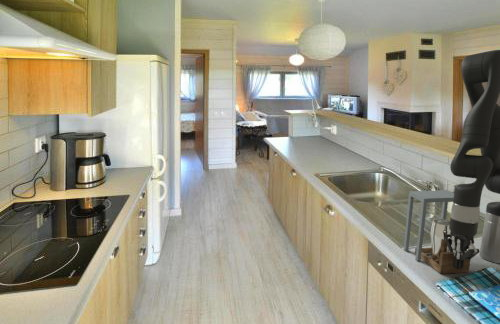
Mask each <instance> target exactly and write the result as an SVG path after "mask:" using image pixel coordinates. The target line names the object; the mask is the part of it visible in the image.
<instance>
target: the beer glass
mask: <svg viewBox="0 0 500 324" xmlns="http://www.w3.org/2000/svg"><path fill="white" fill-rule="evenodd" d="M449 224H450V219H449V220H448V219H446V220H445V219H441V218H434V219H432V224H431V229H430V245H431V247H430V248H431V253H430V255H429V257H430V258H431V259H432V260H440V252H450V251H449V248H448V245H447V242H446V239H445V236H444V235H445V234H450V232H451V231H450V229H449Z"/></svg>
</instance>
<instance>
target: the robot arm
mask: <svg viewBox="0 0 500 324" xmlns="http://www.w3.org/2000/svg"><path fill="white" fill-rule="evenodd" d="M460 70H461V76H462V77H461V78H462V80H463V84H464V86H465V91H466V93H467V96H468V99H469V103H470V107H471V108H470V110H469V112H468V113H467V114H466V117H465V118H464V121H463V127H462V132H461V133H462V134H461V139H460V143H459V146H458V147H457V150H456V152H455V153H454V157H453V158H452V160H451V163H450V171H451V173H452V175H453V176H456V177H460V178H470V179H475V181H473V182H471V183H460V184H457V185H455V187H454V191H453V193H454V199H453V202H452V205H451V210H450V216H449V221H450V224H449V229H450V231H451V232H450V234H445V235H444V236H445V239H446V242H447V245H448V248H449V252H452V253H453V256H454V261H453V267H454V268H456V269H457V270H459V269H462V268H463V265H464V260H470V259H473V258H474V257H475V256H477V255H478V254H479V256H480V257H481V258H482V259H484V260H486V261H487V262H488V261H489V262H492V263H495V264H500V201H491V202H488V203H486V208H485V213H484V223H483V228H482V229H483V230H482V235H481V243H480V249H479V248H476V247H475V238H474V237H475V236H476V235H477V234H478V227H479V219H480V215H481V214H480V211H481V210H480V206H481V199H482V193H483V190H484V186H485V188H486V189H487V190H488V191H489V192H491V193H494V194H499V195H500V105H499V104H497V103H498V101H499V97H500V49H493V50H489V51H484V52H479V53H478V52H477V53H474V54H470V55H469V54H468V55H466V56H464V58H463V59H462V62H461V66H460ZM483 83H486V87H485V88H484V85H483ZM475 149H476V150H477V149H480V150H479V151H480V155H478V154H477V155H475V154H467V153H468V152H469V151H471V150H475ZM462 253H463V254H462ZM470 261H471V260H470Z"/></svg>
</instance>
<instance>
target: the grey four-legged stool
mask: <svg viewBox="0 0 500 324" xmlns="http://www.w3.org/2000/svg"><path fill="white" fill-rule="evenodd" d="M415 199H416V200H418V201H420V202H421V204H420V215H419V224H418V230H417V244H416V248H417V250H416V254H415V261H416V262H421V261H422V259H421V253H422V248H423V241H424V235H425V234H424V233H425V224H426V215H427V205H428V204H429V203H442V204H441V213H440V219H445V220H447V213H448V204H449V203H453V199H454V191H453V192H452V191H450V190H448V189H445V190H444V189H439V190H438V189H437V190H436V189H435V190H409V191H408V200H407V201H408V203H407V212H406V222H405V223H406V224H405V233H404V243H403V251H404V252H409V249H410V248H409V247H410V241H411V240H410V237H411V230H412V229H411V228H412V227H411V226H412V218H413V207H414V200H415Z"/></svg>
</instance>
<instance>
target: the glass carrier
mask: <svg viewBox="0 0 500 324" xmlns="http://www.w3.org/2000/svg"><path fill="white" fill-rule="evenodd" d="M416 250H417V247H415V249H414V254H415V255H416ZM428 254H431V247H422V253H421V260H423V261H424V262H425V263H427V264H428V265H429V266H430V267H432V268H433V269H434V270H436V272H438V273H439V274H453V273H454V274H456V273H458V274H459V273H469V272H470V266H471V259H472V258H471V259H470V260H464V265H463V268H462V269H459V270H457V269H456V268H454V267H453V261H454V256H453V253H452V252H450V251H449V252H440V260H432V259H431V258H430V256H428ZM462 254H463V253H462Z"/></svg>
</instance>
